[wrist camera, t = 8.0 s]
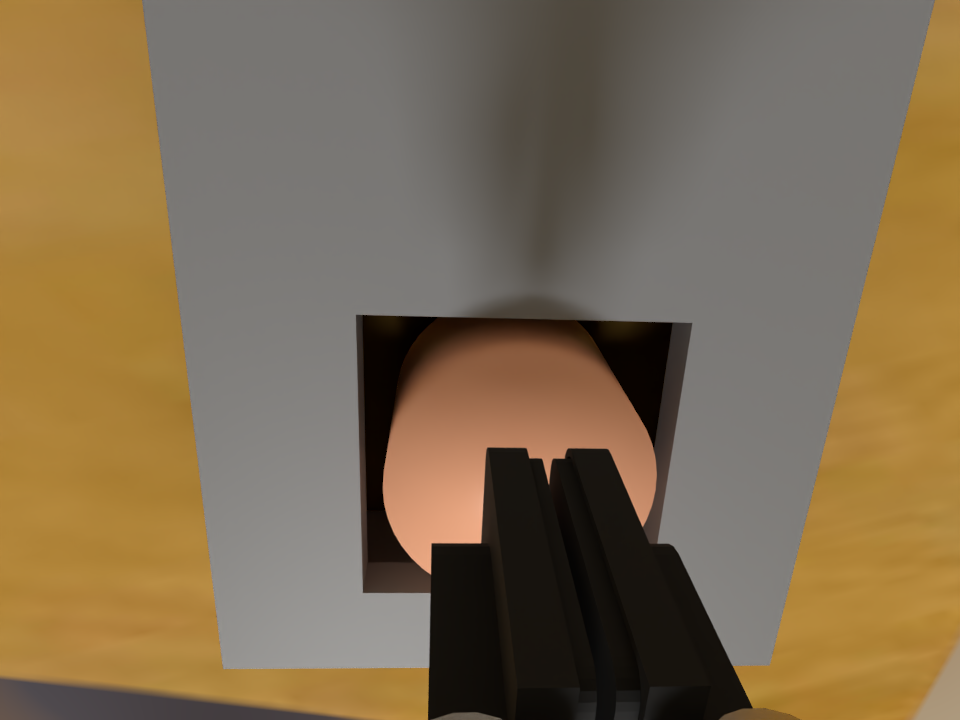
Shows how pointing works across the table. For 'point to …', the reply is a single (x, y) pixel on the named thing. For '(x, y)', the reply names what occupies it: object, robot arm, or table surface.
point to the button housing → (514, 262)
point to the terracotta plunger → (499, 420)
